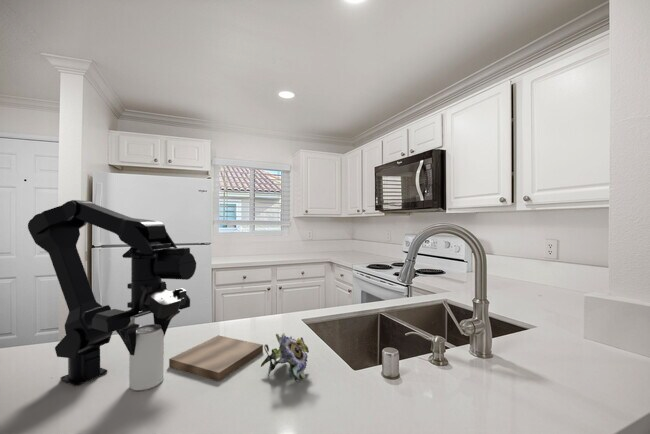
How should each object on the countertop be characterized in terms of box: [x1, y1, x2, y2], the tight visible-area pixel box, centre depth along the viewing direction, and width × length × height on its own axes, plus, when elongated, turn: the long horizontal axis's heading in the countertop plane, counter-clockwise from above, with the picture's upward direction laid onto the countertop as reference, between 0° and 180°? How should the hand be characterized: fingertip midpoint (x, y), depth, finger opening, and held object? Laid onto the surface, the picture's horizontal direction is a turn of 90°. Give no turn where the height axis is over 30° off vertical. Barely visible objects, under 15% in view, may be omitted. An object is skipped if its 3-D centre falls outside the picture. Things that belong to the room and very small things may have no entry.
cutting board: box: [168, 334, 264, 382], centre depth 76 cm, size 16×16×2 cm
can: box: [128, 323, 165, 392], centre depth 65 cm, size 6×6×12 cm
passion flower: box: [260, 332, 310, 382], centre depth 68 cm, size 11×11×12 cm
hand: (146, 349), depth 65 cm, fingers closed on can, 6 cm apart
